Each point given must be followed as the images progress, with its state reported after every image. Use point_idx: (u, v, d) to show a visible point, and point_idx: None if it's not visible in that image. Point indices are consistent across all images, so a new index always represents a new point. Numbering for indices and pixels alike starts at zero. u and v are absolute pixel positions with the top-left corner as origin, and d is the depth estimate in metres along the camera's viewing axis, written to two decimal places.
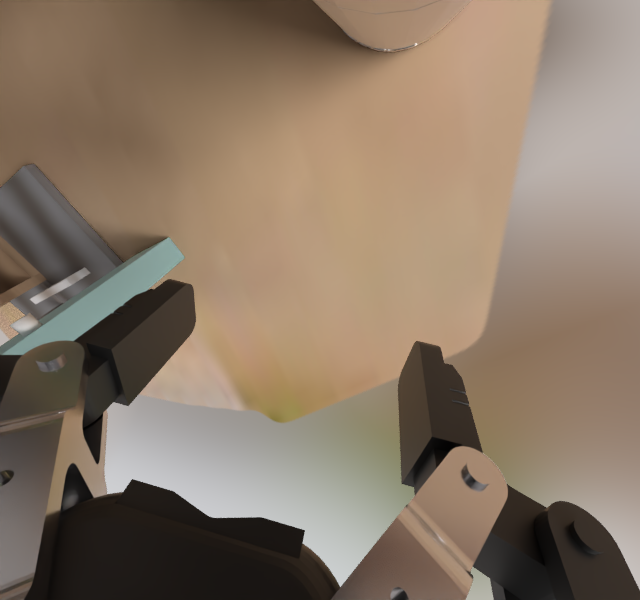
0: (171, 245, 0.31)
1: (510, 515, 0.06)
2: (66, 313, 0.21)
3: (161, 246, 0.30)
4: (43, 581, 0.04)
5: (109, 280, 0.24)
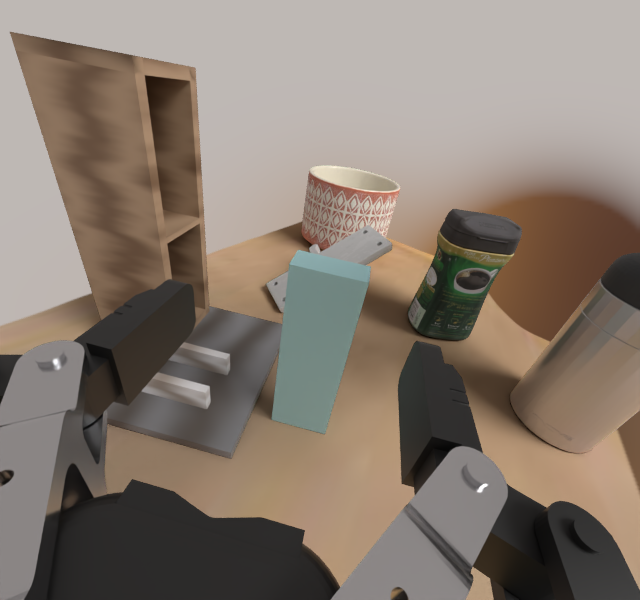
0: None
1: (510, 515, 0.06)
2: None
3: None
4: (44, 581, 0.04)
5: None
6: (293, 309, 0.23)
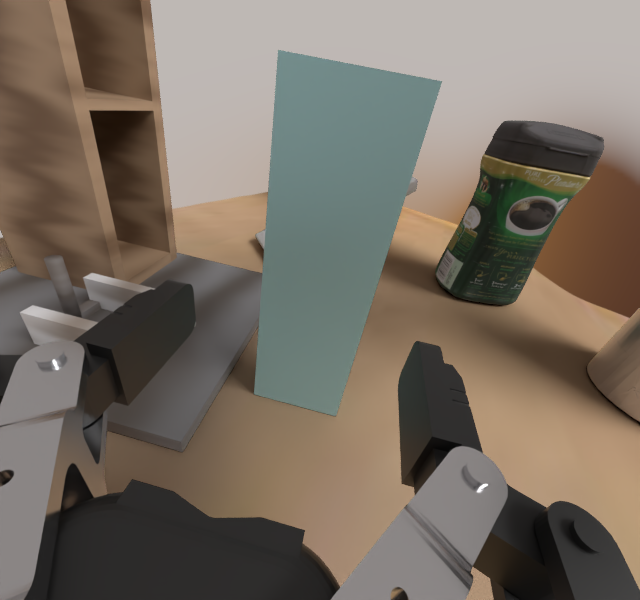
0: None
1: (510, 515, 0.06)
2: None
3: None
4: (43, 580, 0.04)
5: None
6: (287, 168, 0.12)
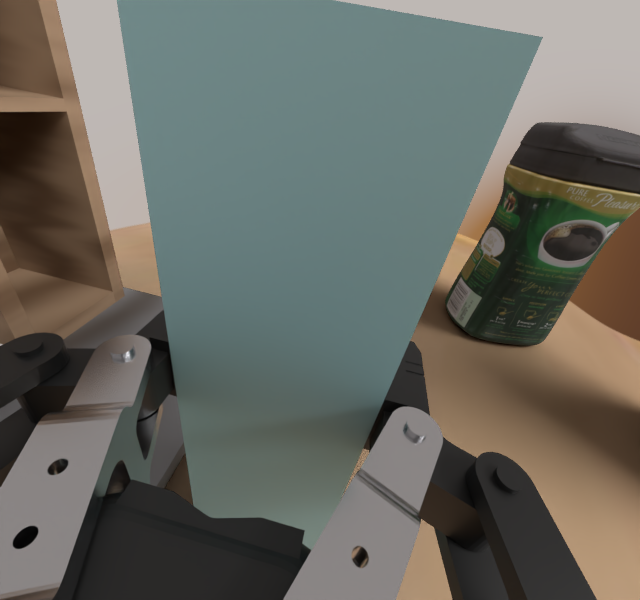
0: None
1: (446, 465, 0.07)
2: None
3: None
4: (72, 585, 0.04)
5: None
6: (185, 234, 0.06)
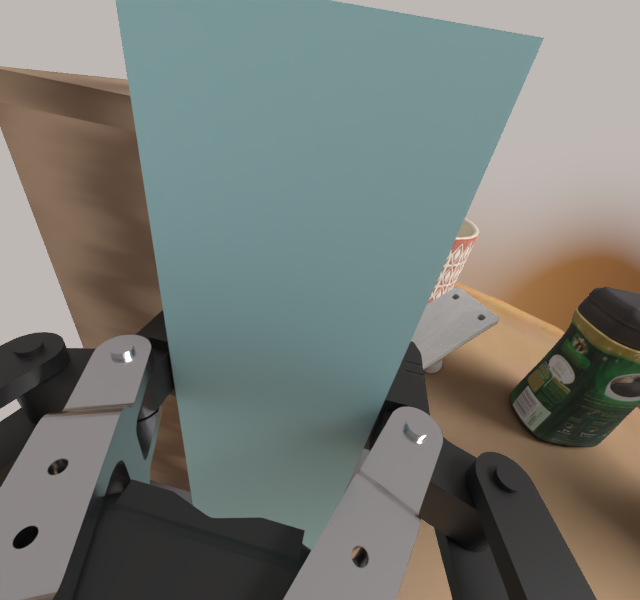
0: None
1: (446, 466, 0.07)
2: None
3: None
4: (70, 586, 0.04)
5: None
6: (185, 235, 0.06)
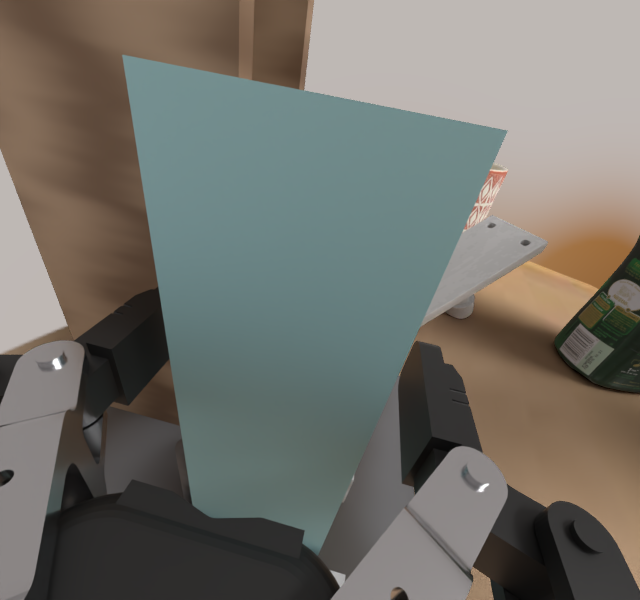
0: None
1: (510, 515, 0.06)
2: None
3: None
4: (43, 581, 0.04)
5: None
6: (188, 280, 0.06)
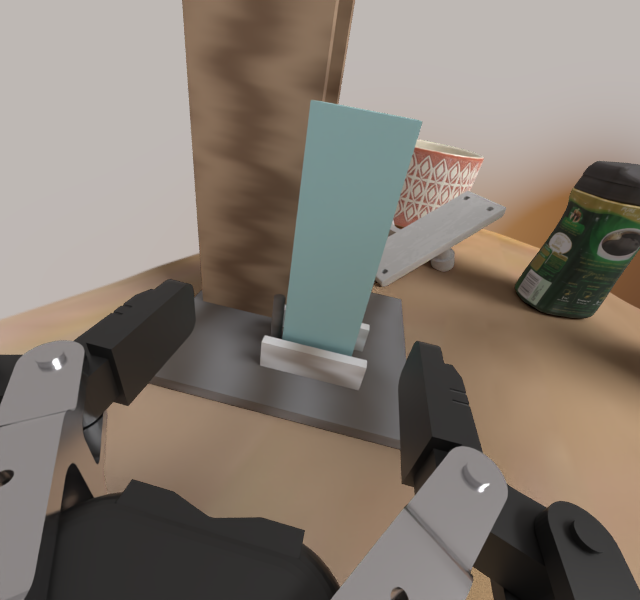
0: None
1: (510, 515, 0.06)
2: None
3: None
4: (44, 581, 0.04)
5: None
6: (314, 179, 0.17)
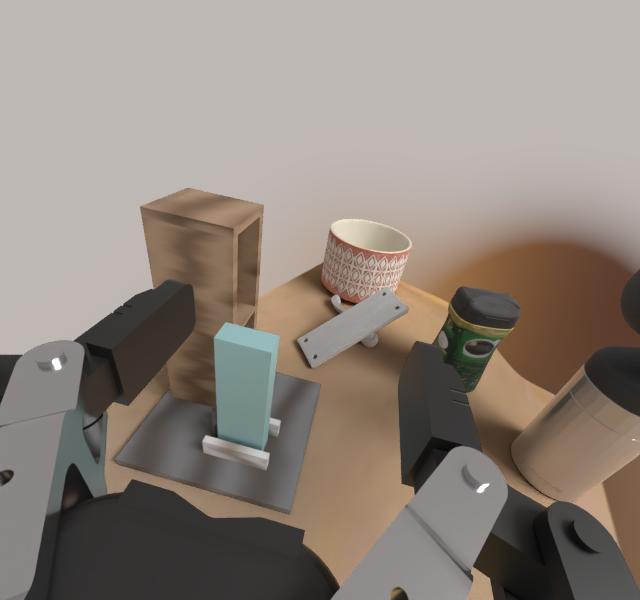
0: (265, 442, 0.39)
1: (510, 515, 0.06)
2: (274, 376, 0.33)
3: (267, 434, 0.39)
4: (43, 581, 0.04)
5: (271, 400, 0.35)
6: (221, 367, 0.30)
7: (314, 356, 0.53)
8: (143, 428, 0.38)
